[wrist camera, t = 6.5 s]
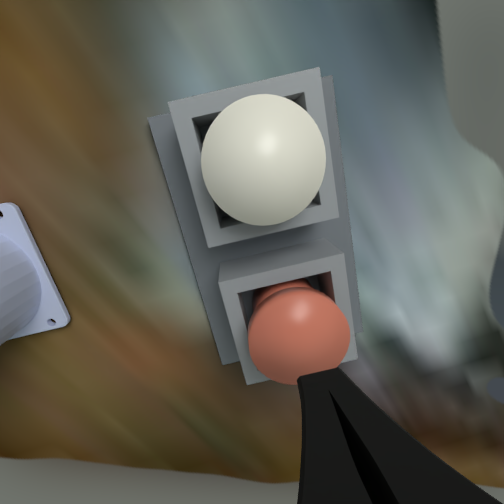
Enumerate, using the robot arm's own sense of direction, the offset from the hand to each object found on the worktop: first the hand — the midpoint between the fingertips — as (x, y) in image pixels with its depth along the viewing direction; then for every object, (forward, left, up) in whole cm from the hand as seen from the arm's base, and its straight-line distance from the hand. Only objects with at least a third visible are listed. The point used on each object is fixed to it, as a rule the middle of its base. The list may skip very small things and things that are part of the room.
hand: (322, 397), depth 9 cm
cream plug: (0, +7, -9) cm, 12 cm away
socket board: (0, +3, -10) cm, 11 cm away
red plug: (0, -1, -9) cm, 9 cm away
